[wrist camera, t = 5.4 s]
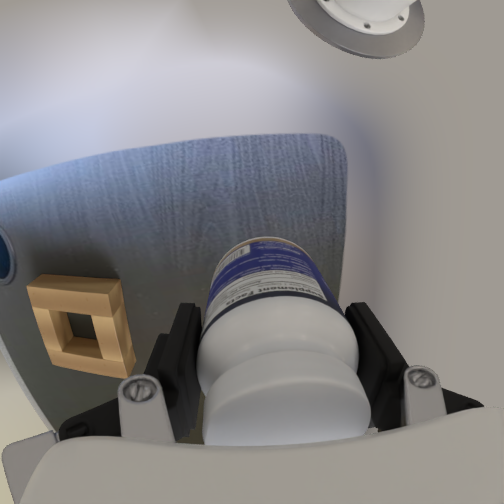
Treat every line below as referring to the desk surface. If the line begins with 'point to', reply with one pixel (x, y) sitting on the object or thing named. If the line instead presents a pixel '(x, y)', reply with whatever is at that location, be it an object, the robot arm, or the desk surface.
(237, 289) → the pill bottle
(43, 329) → the holder
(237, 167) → the desk surface
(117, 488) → the robot arm
